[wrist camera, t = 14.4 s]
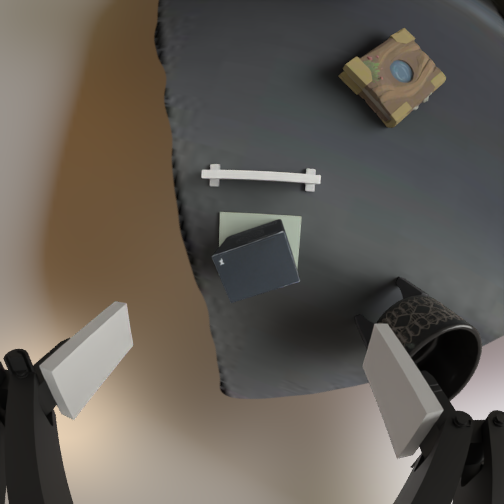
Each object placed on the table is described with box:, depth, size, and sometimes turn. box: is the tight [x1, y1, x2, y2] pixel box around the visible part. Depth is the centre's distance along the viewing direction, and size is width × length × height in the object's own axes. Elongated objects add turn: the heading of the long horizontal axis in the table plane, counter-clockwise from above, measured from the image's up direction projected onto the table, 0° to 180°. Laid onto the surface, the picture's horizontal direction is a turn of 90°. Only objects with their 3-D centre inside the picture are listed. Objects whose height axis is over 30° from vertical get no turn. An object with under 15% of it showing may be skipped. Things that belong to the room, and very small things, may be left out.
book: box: [338, 28, 446, 128], centre depth 28 cm, size 15×11×5 cm
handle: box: [202, 164, 321, 191], centre depth 33 cm, size 3×14×5 cm, turn 87°
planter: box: [355, 277, 482, 401], centre depth 30 cm, size 13×13×18 cm
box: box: [212, 219, 300, 303], centre depth 33 cm, size 8×6×11 cm
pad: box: [219, 212, 301, 267], centre depth 38 cm, size 9×11×1 cm
